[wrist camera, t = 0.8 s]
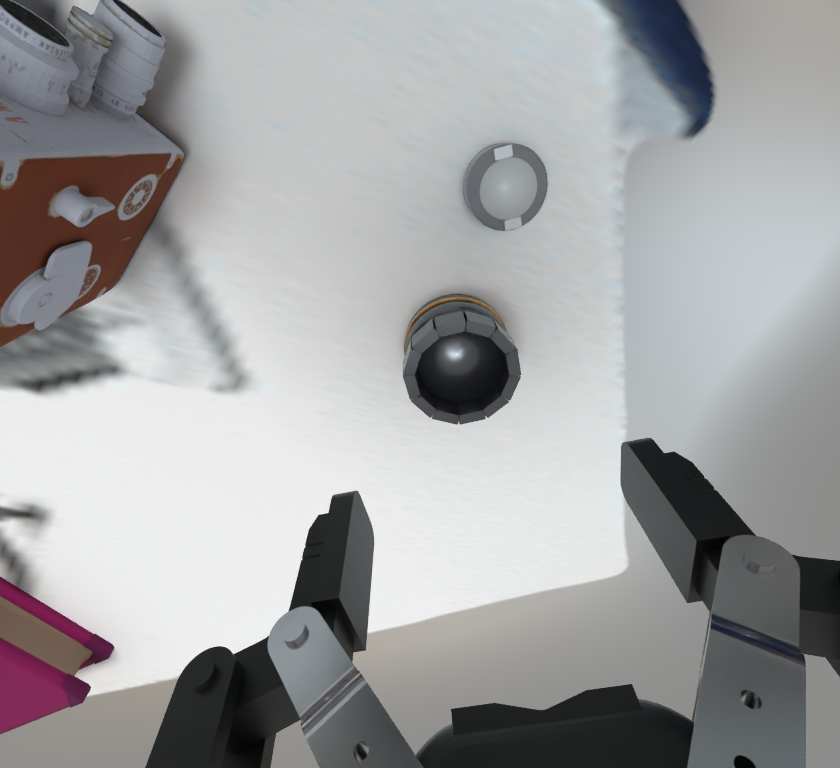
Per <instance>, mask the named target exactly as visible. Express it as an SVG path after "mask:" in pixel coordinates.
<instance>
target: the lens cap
mask: <svg viewBox="0 0 840 768" xmlns="http://www.w3.org/2000/svg"><path fill="white" fill-rule="evenodd" d="M547 185H548V183H547V173H546V170H545V167H544V164H543V162H542V161H541V159H540V158H539V156H538V155H537V154H536V153H535V152H534V151H532V150H531V149H529V148H527V147H525V146H523V145H519V144H495V145H492V146H489V147H487V148H485V149H483V150H482V151H481V152H479V153H478V154H477V155H476V156H475V157H474V158H473V160H472V161H471V163H470V164H469V166H468V168H467V170H466V173H465V176H464V182H463V192H464V198H465V201H466V203H467V205H468V207H469V209H470V210H471V212H472V213H473V214H474V215H475V216H476V217H477V218H478V220H479V221H480V222H482V223H483V224H484V225H486V226H488V227H489V228H492V229H495V230H502V231H507V230H513V229H516V228H519V227H522V226H523V225H524V224H526V223H528V222H529V221H530V220H531V219H532V218H533V217H534V216H535V215H536V214H537V213H538V211H539V210H540V208H541V206H542V204H543V202H544V200H545V197H546V192H547Z"/></svg>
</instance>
